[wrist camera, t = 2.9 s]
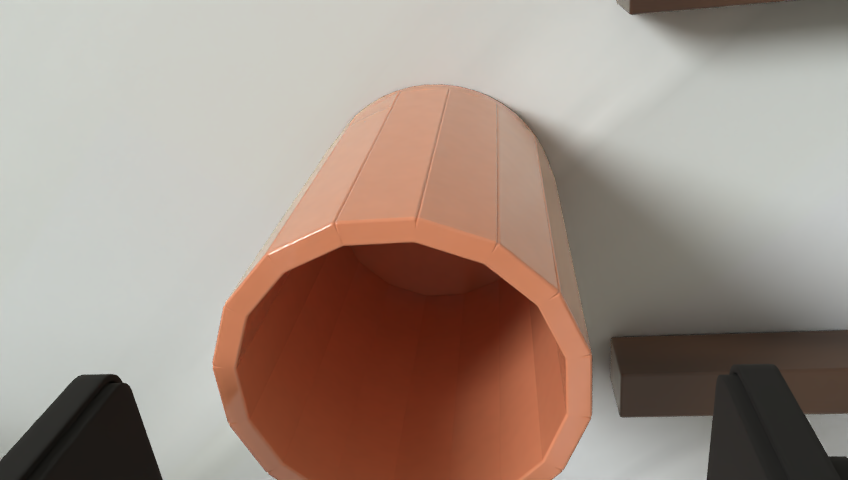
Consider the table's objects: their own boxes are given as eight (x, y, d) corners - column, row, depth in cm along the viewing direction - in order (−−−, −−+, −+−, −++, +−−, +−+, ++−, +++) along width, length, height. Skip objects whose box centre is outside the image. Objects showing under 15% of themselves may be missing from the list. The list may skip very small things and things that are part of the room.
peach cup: (343, 301, 22) (256, 528, 14) (307, 93, 19) (172, 230, 11) (556, 292, 21) (592, 529, 13) (551, 74, 19) (593, 208, 11)
